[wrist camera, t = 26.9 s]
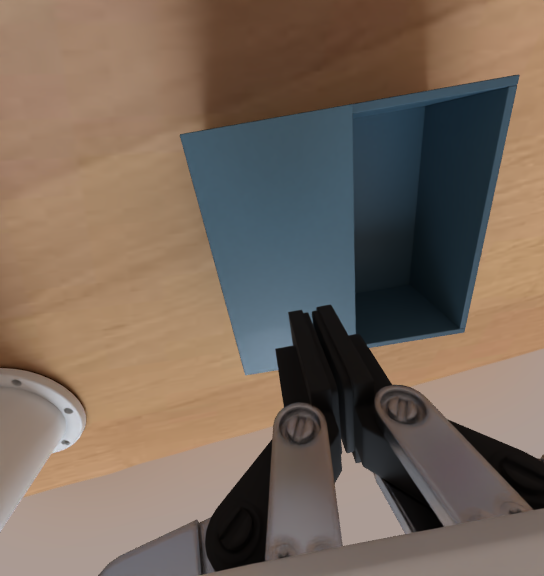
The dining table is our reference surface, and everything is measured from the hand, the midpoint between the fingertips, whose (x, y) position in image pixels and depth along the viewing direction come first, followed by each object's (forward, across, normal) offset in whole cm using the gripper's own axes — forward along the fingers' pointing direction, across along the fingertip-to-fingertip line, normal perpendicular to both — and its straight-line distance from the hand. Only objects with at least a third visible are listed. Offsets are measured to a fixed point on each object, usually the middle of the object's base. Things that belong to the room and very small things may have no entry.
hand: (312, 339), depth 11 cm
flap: (+6, 0, -1) cm, 6 cm away
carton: (+14, -4, -1) cm, 14 cm away
